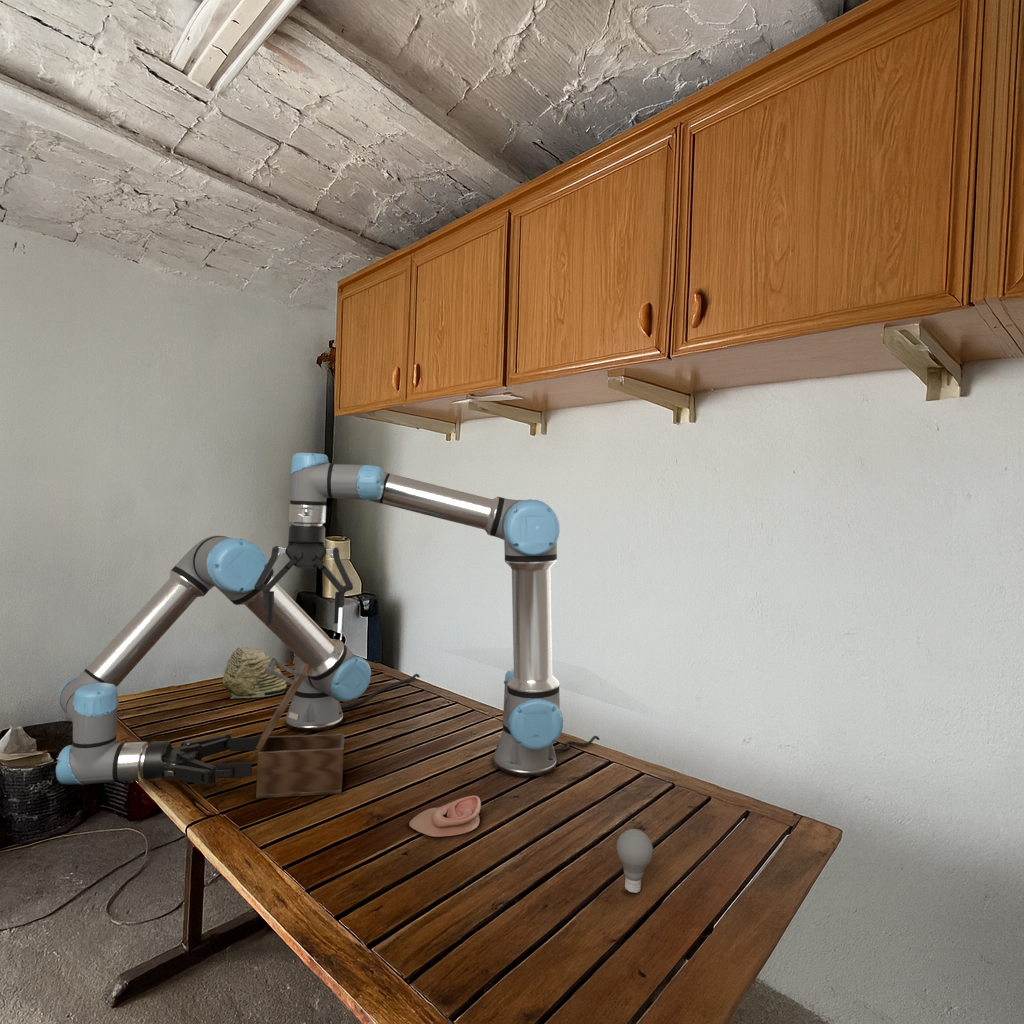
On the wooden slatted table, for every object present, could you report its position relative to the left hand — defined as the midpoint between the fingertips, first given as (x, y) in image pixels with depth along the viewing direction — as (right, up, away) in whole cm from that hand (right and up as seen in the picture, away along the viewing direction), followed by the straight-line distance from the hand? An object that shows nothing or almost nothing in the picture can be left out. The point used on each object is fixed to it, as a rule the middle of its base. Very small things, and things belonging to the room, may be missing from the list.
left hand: (257, 755), depth 136 cm
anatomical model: (+41, -9, -11) cm, 44 cm away
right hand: (+9, +28, +2) cm, 30 cm away
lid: (+6, +10, +1) cm, 12 cm away
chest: (+9, -8, +3) cm, 12 cm away
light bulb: (+75, -11, -30) cm, 81 cm away
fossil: (-26, -5, +62) cm, 68 cm away
